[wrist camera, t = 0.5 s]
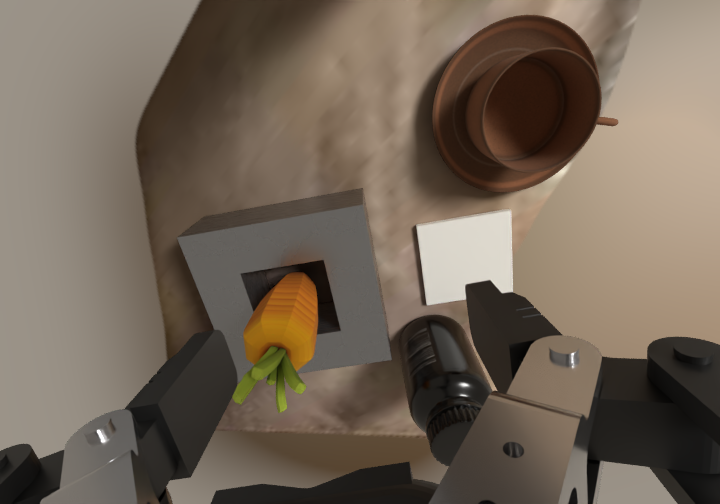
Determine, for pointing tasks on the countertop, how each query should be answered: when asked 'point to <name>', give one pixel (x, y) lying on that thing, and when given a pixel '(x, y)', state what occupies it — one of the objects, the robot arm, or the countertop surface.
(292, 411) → the countertop surface
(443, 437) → the supplement bottle
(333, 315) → the metal housing
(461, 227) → the plastic pad
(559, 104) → the cup and saucer
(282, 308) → the carrot
